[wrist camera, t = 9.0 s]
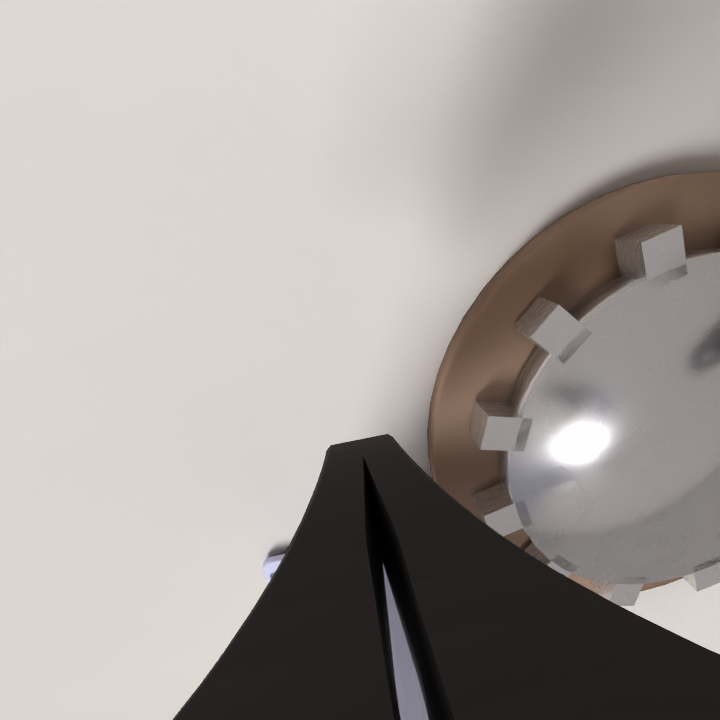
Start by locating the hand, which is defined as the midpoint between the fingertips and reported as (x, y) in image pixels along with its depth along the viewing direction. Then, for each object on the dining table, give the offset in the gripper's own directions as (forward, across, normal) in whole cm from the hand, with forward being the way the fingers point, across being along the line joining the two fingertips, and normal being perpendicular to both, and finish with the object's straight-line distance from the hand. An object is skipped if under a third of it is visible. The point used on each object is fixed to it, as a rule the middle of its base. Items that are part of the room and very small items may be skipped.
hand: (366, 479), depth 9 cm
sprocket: (+9, -15, +7) cm, 19 cm away
